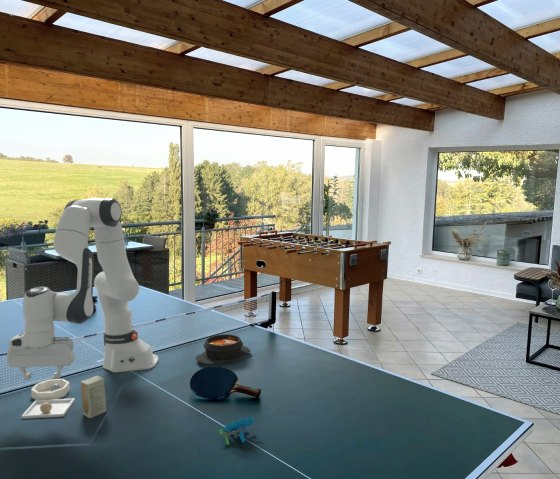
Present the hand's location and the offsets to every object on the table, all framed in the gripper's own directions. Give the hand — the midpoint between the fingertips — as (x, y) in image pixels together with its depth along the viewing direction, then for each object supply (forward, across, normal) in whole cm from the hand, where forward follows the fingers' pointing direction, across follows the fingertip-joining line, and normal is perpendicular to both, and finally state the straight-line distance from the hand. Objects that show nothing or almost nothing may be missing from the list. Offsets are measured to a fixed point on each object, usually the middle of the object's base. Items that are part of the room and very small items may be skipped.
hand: (42, 378), depth 161 cm
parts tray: (+13, 0, -3) cm, 13 cm away
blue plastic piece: (+12, -64, +20) cm, 68 cm away
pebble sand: (+12, 0, 0) cm, 12 cm away
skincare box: (+13, -16, +1) cm, 21 cm away
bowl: (+13, +4, -15) cm, 20 cm away
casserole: (+12, -57, -45) cm, 74 cm away
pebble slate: (+12, +2, -15) cm, 20 cm away
